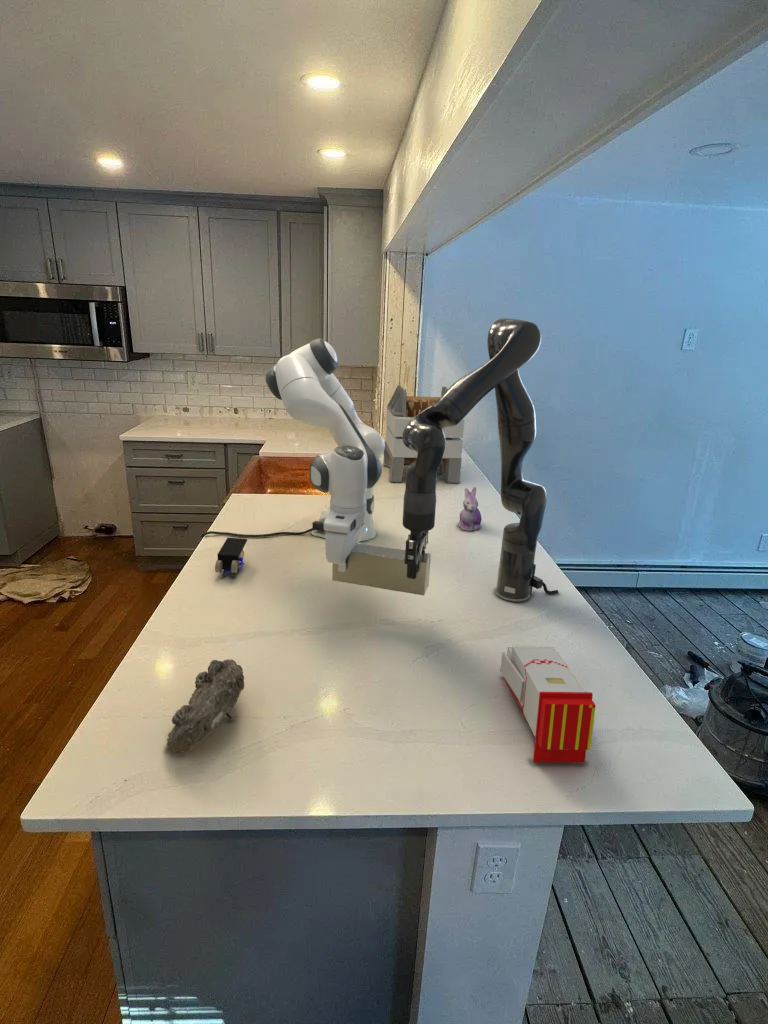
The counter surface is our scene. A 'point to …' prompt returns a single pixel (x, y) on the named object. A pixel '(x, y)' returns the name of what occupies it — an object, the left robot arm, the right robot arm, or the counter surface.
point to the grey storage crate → (399, 455)
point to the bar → (383, 569)
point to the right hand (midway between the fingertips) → (415, 570)
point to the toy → (550, 702)
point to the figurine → (470, 512)
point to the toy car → (230, 556)
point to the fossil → (206, 705)
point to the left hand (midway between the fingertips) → (347, 565)
